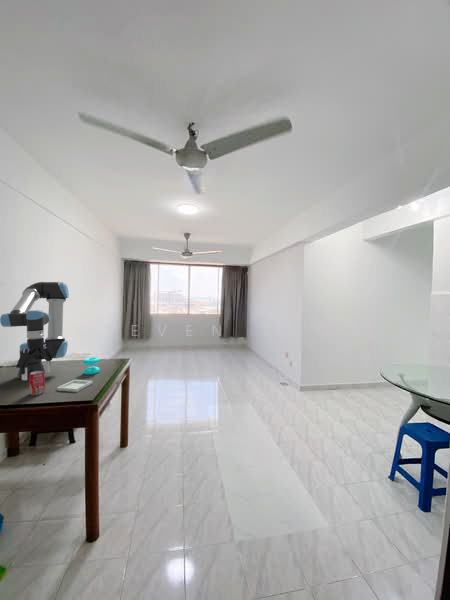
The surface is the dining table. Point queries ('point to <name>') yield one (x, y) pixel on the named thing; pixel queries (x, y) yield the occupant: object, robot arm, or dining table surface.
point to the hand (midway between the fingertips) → (36, 375)
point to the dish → (74, 385)
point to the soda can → (36, 383)
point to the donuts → (90, 362)
